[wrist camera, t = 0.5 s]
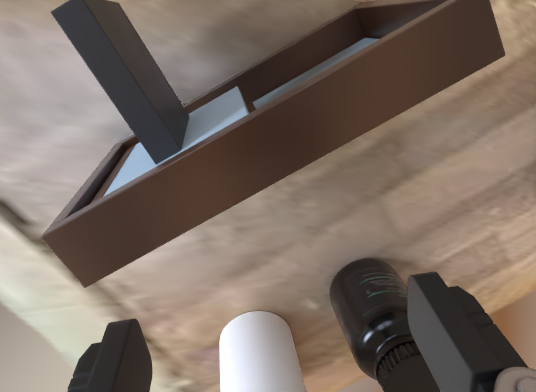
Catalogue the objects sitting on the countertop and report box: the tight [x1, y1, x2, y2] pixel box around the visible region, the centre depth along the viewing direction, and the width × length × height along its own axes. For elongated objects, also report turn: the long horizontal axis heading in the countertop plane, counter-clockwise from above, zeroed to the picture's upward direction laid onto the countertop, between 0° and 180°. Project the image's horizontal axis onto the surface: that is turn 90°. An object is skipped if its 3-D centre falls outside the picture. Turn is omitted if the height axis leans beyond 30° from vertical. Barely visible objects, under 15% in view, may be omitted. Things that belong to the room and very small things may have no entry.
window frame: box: [41, 0, 505, 288], centre depth 27 cm, size 22×3×16 cm, turn 118°
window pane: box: [51, 0, 249, 204], centre depth 25 cm, size 10×9×13 cm
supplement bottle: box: [330, 259, 441, 392], centre depth 37 cm, size 7×7×12 cm
